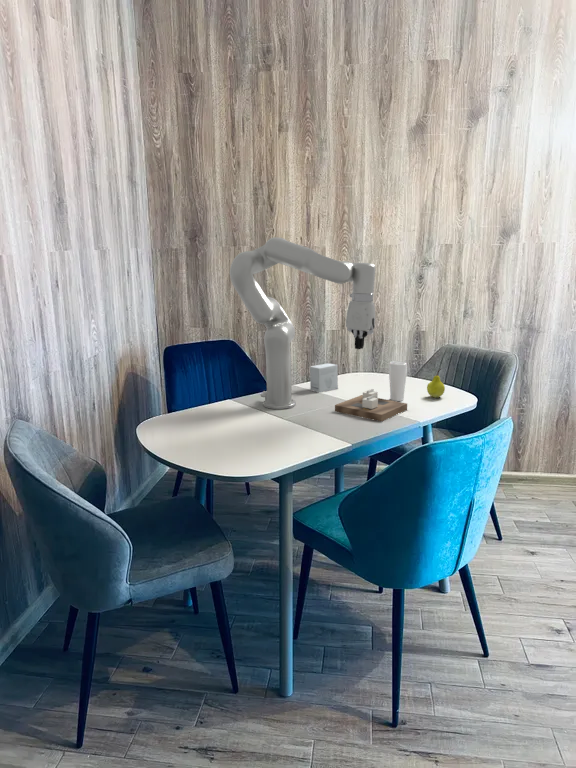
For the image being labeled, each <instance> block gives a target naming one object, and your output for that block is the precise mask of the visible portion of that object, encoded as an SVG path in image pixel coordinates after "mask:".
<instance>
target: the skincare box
mask: <svg viewBox="0 0 576 768" xmlns="http://www.w3.org/2000/svg"><path fill="white" fill-rule="evenodd" d="M309 371H310V372H309V373H310V374H309V375H310V376H309V379H310V380H309V382H310V385H309V386H310V387H309V388H310V391H312V390H314V391H313V392H316V391H317V393H319V392H320V393H324V392H323V391H325V392H330V391H333V390H338V389H339V383H338V381H339V379H338V376H339V375H338V372H339V371H338V364H335V363H330V362H329V363H322V364H316V365H312V366H309Z"/></svg>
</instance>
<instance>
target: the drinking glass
mask: <svg viewBox="0 0 576 768" xmlns="http://www.w3.org/2000/svg"><path fill="white" fill-rule="evenodd" d="M388 372H389V373H388V375H389V376H388V378H389V379H388V380H389V400H391V401H396V402H402V401H404V399H405V392H406V391H405V389H406V383H407V374H408V373H407V372H408V364H407V362H406V361H400V360H394V361H390V362H389V366H388Z"/></svg>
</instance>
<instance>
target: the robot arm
mask: <svg viewBox="0 0 576 768" xmlns="http://www.w3.org/2000/svg"><path fill="white" fill-rule="evenodd" d="M278 264H280V265H283V266H286V267H289V268H291V269H292V268H293V269H295V270H298V271H300V272H303V273H305V274H309V275H312V276H314V277H318V278H319V279H323V280H325V281H329V282H332V283H335V284H339V285H343V284H346V283H349V282H350V283H352V292H351V293H350V294H349V297H350V298H351V300H350V301H349V303H348V306H347V311H346V318H345V328H347V329H346V330H347V331H348V332H350V333H352V335H353V338H354V349H357V350H361V349H364V345H365V339H366V337H367V336H368V335H373V334H374V333H375V330H374V329H375V326H376V307H375V302H374V291H375V277H376V265H375V264H374V263H371V262H351V261H345V260H344V261H343V260H337V259H334V258H332V257H328V256H325V255H323V254H320V253H318V252H317V251H315V249H312V248H310V247H307V246H305V245H301V244H298V243H295V242H292V241H289V240H287V239H286V238H283V237H271V238H269V239H268V240H267V241H266V242H265V244H263V245H262V246H259V247H257V248H255V249H253V250H250V251H243V252H240V253H238V254H237V255H236V256H235V257H234V259H233V260H232V262H231V264H230V268H229V277H230V282H231V285H232V286H233V288H234V290H235V291H236V293H237V295H238V296H239V298H240V300H241V301H242V302H243V305H244V306H245V308H246V309H247V310H248V312H249V313H250V315H251V317H252V319H253V320H254V321H255V322H256V323H257V324H260V325H264V326H265V328H266V331H265V333H264V336H263V339H264V340H263V343H264V351H265V366H266V367H265V368H266V370H265V372H266V391H265V390H263V391H262V392H261V394H260V397H262V398H264V400H263V402H262V406H264V408H267V409H273V410H285V409H291V408H293V407H295V406H296V400H295V399H292V396H293V395H292V394H293V393H292V355H291V354H292V353H291V342H293V340H294V338H295V336H296V329H295V327H294V324H293V323H292V321H291V320H290V318H289V316H288V315H287V312H286V311H285V310H284V308H283V307H282V305H281V304H280V303H279V302H278V300H276V299H275V298H274V297H272V296H267V295H266V293H265V292H264V290H263V289H262V287H261V286H260V284H259V282H258V281H257V280H256V279H255V277H254V275H257V274H259V273H262V272H263V271H265V270H267V269H270V268H271V267H273V266H275V265H278Z"/></svg>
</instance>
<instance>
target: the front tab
mask: <svg viewBox="0 0 576 768" xmlns="http://www.w3.org/2000/svg"><path fill="white" fill-rule="evenodd" d="M378 398H379V397H377V398H374V396H369V397H367V398H364V399H363V401H362V407H364V408H369V409H373V408H376V407H378Z"/></svg>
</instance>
